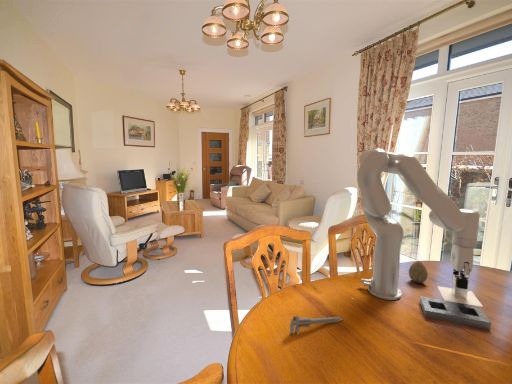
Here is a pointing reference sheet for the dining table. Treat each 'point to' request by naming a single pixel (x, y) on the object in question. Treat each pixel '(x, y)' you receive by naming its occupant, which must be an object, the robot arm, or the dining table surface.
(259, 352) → the dining table surface
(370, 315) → the dining table surface
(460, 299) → the tile
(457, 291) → the steel block
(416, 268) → the decorative egg
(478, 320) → the block with square recesses
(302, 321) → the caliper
